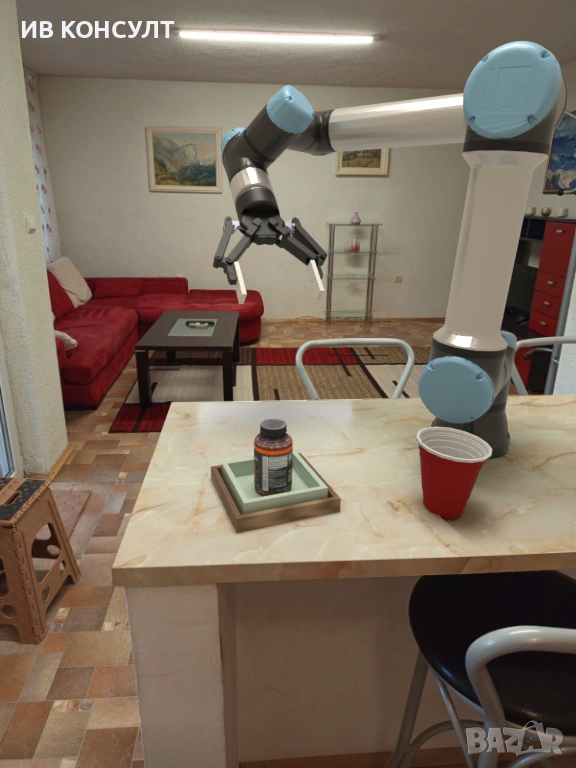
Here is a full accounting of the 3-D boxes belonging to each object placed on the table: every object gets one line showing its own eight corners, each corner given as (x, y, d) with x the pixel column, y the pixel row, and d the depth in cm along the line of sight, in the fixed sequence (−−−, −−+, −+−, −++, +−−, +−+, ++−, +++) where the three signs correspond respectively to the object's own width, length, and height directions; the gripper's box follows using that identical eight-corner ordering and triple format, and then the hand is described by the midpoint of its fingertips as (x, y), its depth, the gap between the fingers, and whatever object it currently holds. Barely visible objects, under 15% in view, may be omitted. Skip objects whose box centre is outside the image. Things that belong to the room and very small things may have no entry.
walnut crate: (299, 467, 91) (300, 452, 90) (339, 516, 77) (340, 498, 76) (211, 482, 86) (210, 466, 85) (236, 537, 72) (236, 519, 71)
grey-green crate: (295, 468, 89) (295, 450, 88) (326, 508, 78) (327, 487, 76) (222, 481, 85) (221, 462, 83) (244, 524, 73) (244, 503, 72)
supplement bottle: (253, 479, 84) (253, 415, 80) (290, 479, 84) (291, 415, 80) (254, 499, 78) (254, 431, 74) (293, 498, 78) (295, 430, 75)
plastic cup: (486, 536, 73) (499, 460, 69) (409, 525, 75) (417, 452, 71) (476, 496, 83) (487, 428, 79) (408, 488, 85) (415, 421, 81)
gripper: (311, 217, 101) (341, 306, 92) (184, 215, 92) (205, 314, 84) (323, 187, 94) (357, 280, 86) (188, 183, 86) (211, 286, 77)
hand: (282, 297), depth 85 cm, fingers open, 13 cm apart
